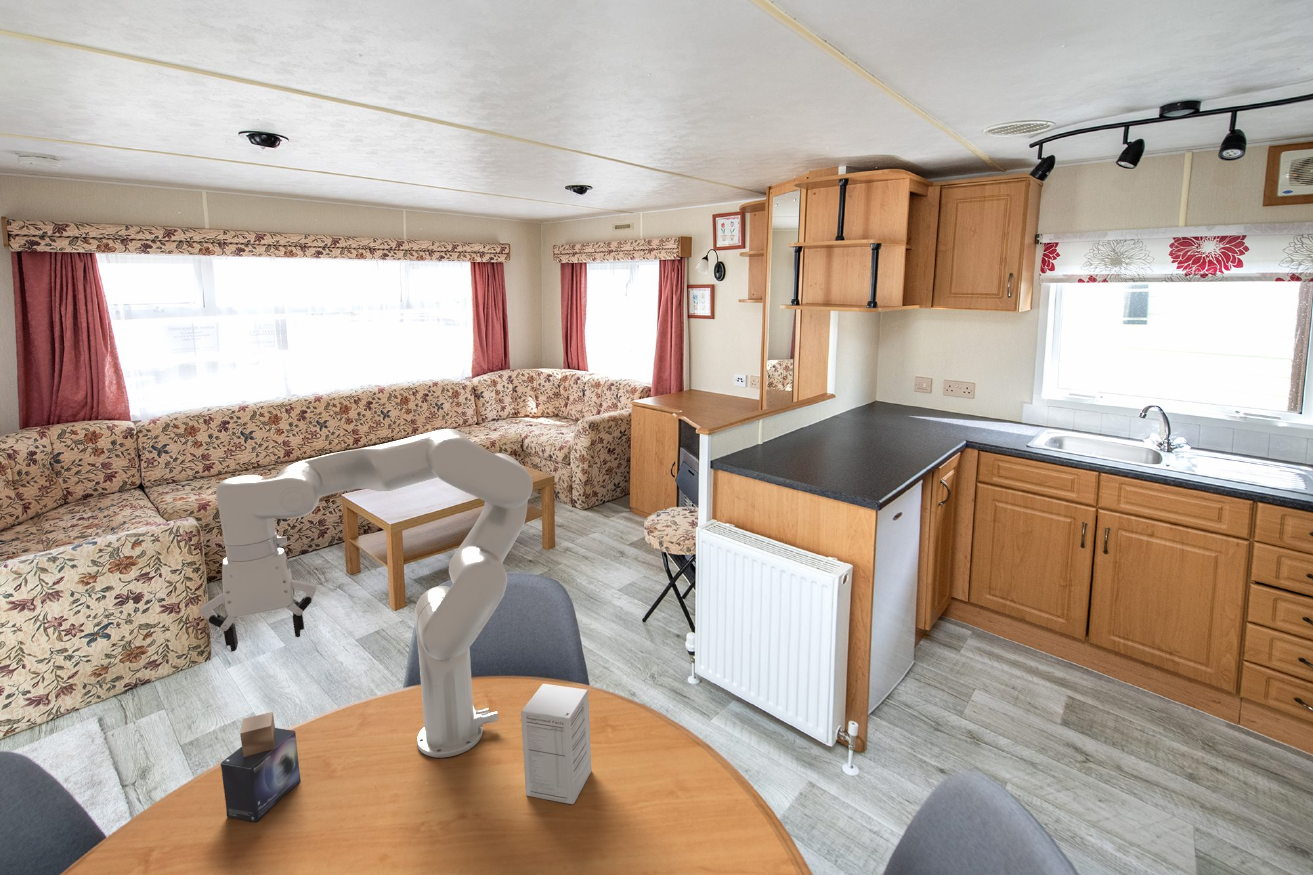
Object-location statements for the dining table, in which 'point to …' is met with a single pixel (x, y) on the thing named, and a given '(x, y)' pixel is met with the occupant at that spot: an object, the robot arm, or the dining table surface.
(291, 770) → the small box
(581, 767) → the supplement box
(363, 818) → the dining table surface
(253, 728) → the brown wooden cube
